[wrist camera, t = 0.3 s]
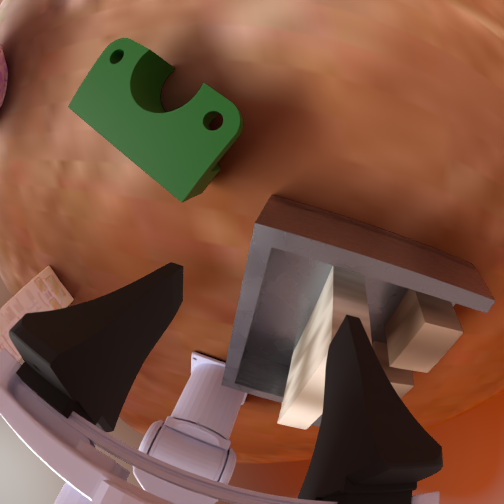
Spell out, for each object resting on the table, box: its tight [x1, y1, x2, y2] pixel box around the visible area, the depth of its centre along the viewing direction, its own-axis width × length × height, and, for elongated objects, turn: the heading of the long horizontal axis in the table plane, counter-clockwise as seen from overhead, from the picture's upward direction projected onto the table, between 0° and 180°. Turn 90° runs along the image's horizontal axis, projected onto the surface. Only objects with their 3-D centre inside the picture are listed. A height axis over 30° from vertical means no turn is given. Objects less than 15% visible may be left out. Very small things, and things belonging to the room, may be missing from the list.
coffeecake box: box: [0, 266, 74, 361], centre depth 28 cm, size 15×7×20 cm, turn 122°
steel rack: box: [221, 195, 495, 403], centre depth 21 cm, size 18×18×5 cm
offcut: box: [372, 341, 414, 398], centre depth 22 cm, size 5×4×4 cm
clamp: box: [68, 38, 243, 202], centre depth 15 cm, size 12×6×9 cm, turn 46°
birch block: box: [278, 266, 372, 429], centre depth 19 cm, size 11×2×8 cm, turn 169°
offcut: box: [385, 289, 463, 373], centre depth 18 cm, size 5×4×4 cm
